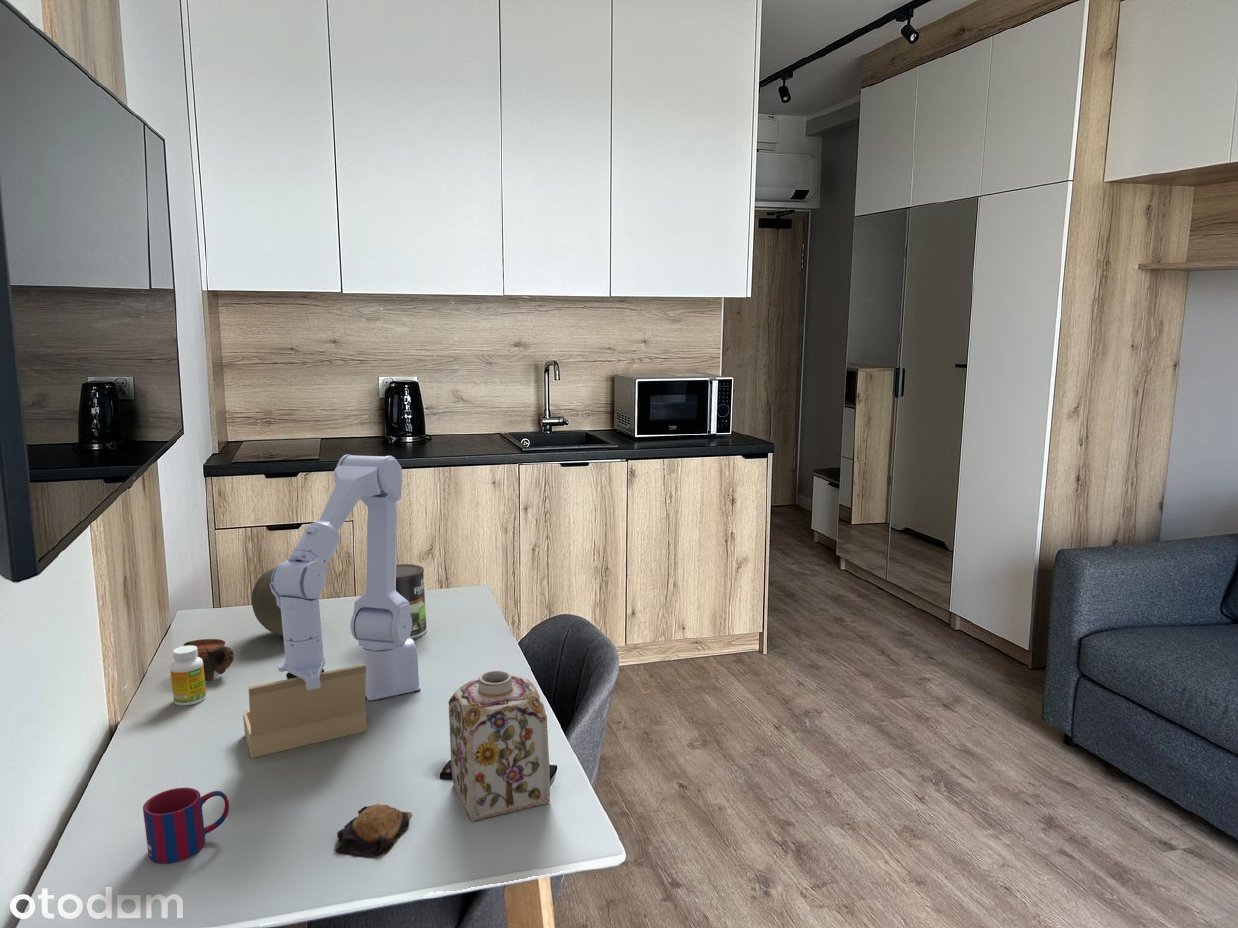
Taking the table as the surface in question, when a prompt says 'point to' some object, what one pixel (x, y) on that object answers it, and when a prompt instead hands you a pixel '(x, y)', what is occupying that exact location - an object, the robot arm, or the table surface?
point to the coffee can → (413, 595)
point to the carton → (303, 733)
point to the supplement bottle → (187, 676)
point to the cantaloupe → (267, 605)
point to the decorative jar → (499, 745)
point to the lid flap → (306, 699)
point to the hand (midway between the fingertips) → (309, 714)
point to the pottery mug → (213, 656)
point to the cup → (177, 824)
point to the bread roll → (372, 831)
